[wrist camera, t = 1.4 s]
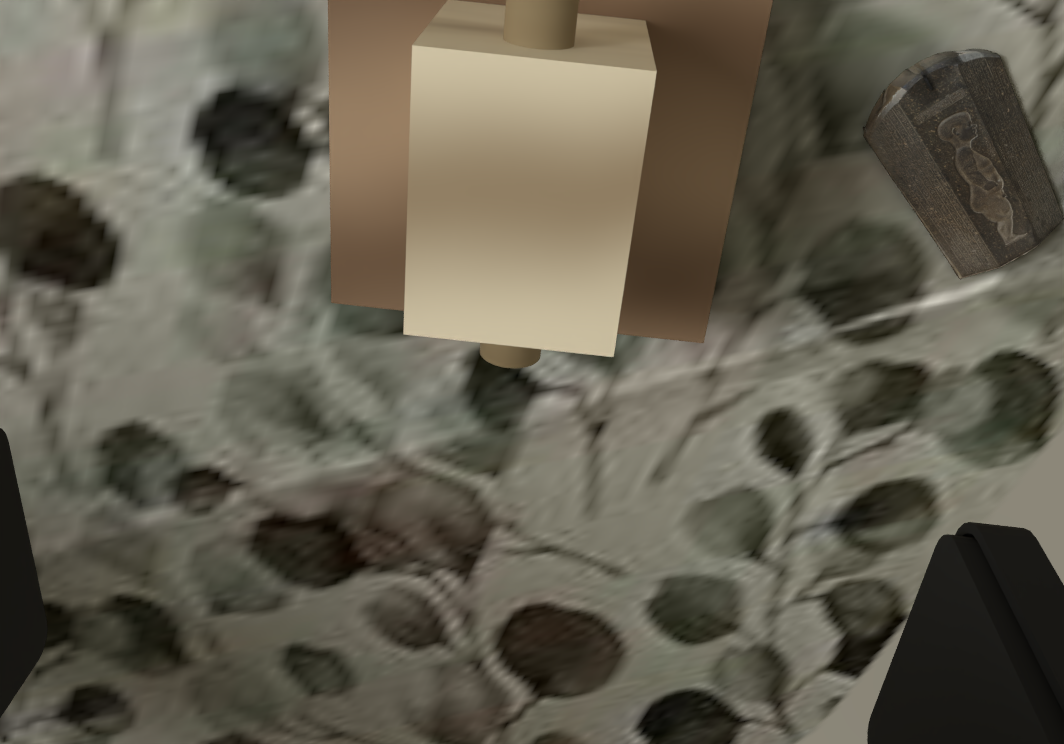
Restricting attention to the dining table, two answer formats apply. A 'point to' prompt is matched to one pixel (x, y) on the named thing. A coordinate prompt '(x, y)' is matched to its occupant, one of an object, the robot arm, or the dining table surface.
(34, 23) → the dining table surface
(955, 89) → the block
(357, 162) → the board
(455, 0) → the cream knobbed box
